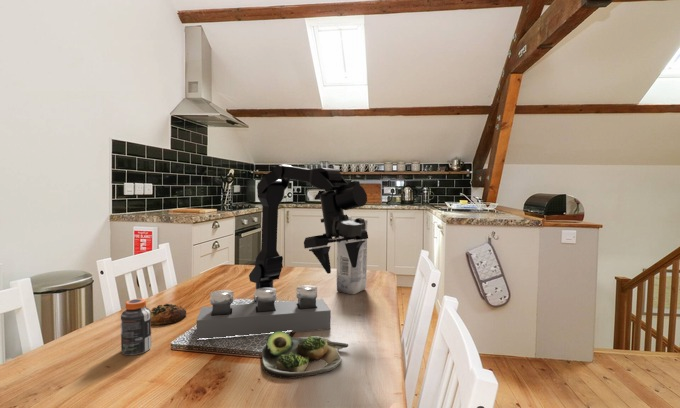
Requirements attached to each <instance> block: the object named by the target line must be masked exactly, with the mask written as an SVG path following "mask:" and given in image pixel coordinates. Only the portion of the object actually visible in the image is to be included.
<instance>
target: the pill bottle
mask: <svg viewBox="0 0 680 408" xmlns="http://www.w3.org/2000/svg"><path fill="white" fill-rule="evenodd" d="M120 340H121V341H120V345H121V346H120V347H121V349H120V351H121V354H123V355H125V356H136V355H140V354H143V353H146V352H148V351H149V350H150V349H151V348H152V325H151V309H150V308H148V307H147V300H146V299H145V298H134V299H130V300H127V301H126V302H125V310H124V311H122V313H121V314H120Z"/></svg>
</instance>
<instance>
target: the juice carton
mask: <svg viewBox="0 0 680 408" xmlns="http://www.w3.org/2000/svg"><path fill="white" fill-rule="evenodd" d="M347 216H348V219H349V220H350V221H355V219H356V218H352V215H347ZM364 220H365V224H366V229H365V230H366V231H367V232H368V219H364ZM339 237H341V236H339ZM341 239H342V238H341ZM364 240H366V241H365V242H364V243H363V244H362V245H361V246H360V249H359V253H358V259H357V265H356V267H355V268H353V267H352V265H351V262H350V259H349V256H348V252H347V249H346V246H345V243H348V242H347V241H346V240H345V241H338V242H336V291H337V292H339V293H343V294H344V293H345V294H349V295H356V294H358V293H359V292H362V291H364V290H366V288H367V287H366V286H367V273H368V272H367V269H368V268H367V263H368V262H367V261H368V259H367V257H368V256H367V255H368V239H362V241H364Z"/></svg>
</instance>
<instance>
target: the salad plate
mask: <svg viewBox="0 0 680 408" xmlns="http://www.w3.org/2000/svg"><path fill="white" fill-rule="evenodd" d="M348 347H349V344H348V343H344V342H340V341H339V342H338V341H331V340H330V339H328V338H325V337H322V336H317V335H315V336H306V337H305V336H304V337H293V336H291V335H290V333H285V332H282V331H278V332H274V333H273V334H270V335H269V336H268V338H267V340H266V343H265V344H264V345H263V347H262V348H261V360H262V361H261V366H262V370H263V371H264V372H265V373H266V374H268V375H270V376H272V377H275V378H279V379H280V378H281V379H282V378H284V379H285V378H286V379H295V378H299V377H300V378H301V377H306V376H307V377H308V376H312V375H313V376H314V375H318V374H322V373H326V372H329V371H331V370H333V369H335V368H337V367H339V365H340V364H342V362H343V361H342V360H343V359H342V357H341V355H340V353H339V350H343V349H346V348H348ZM319 361H320V362H321V361H323V362H325V366H323V367H321V368H318V369H314V370H307V371H306V369H307V368H308V366H309V364H311V363H313V362H319Z"/></svg>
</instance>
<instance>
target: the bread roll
mask: <svg viewBox="0 0 680 408" xmlns="http://www.w3.org/2000/svg"><path fill="white" fill-rule="evenodd" d="M150 311H151V326H153V325H156V326H163V325H168V324H172V323H173V324H174V323H177V322H180V321H182V320H184V319H185V318H186V317H187V310H186V309H185V308H183V306H181V305H180V306H178V305H176V304H172V303H165V304H159V305H157V306H155V307H152V308H151V309H150Z"/></svg>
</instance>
